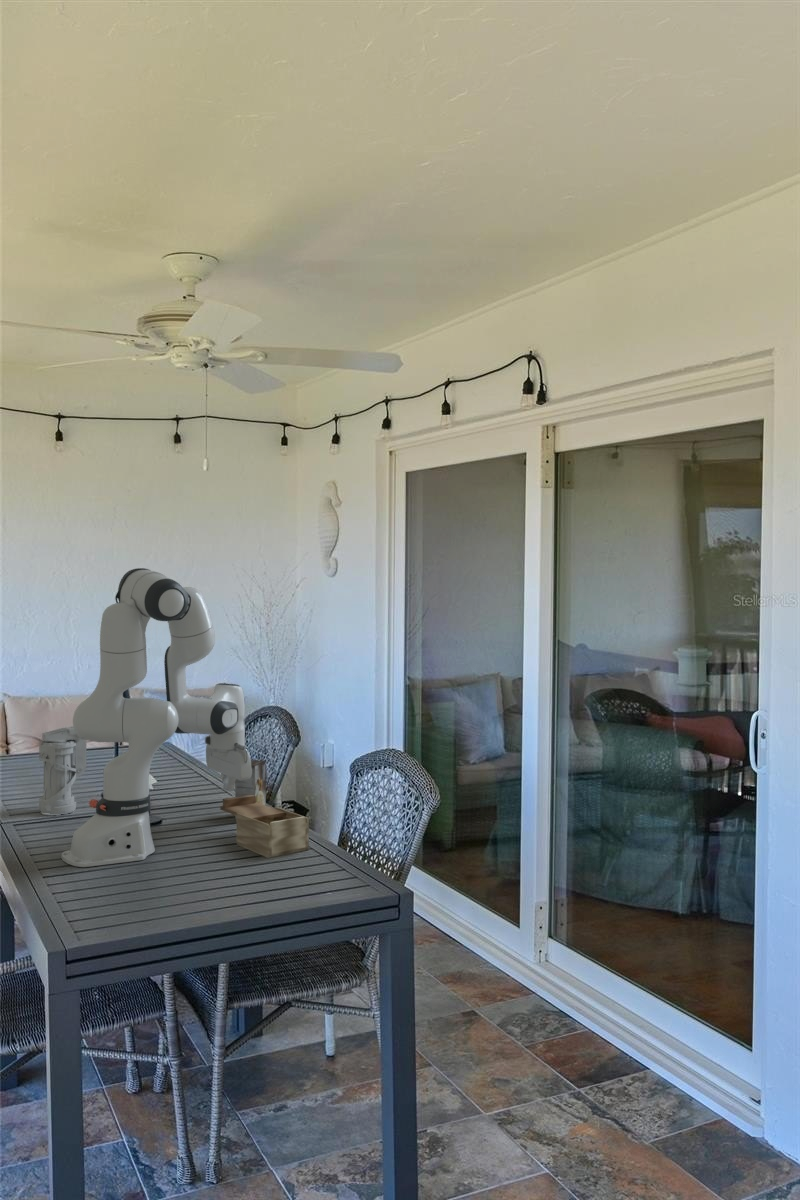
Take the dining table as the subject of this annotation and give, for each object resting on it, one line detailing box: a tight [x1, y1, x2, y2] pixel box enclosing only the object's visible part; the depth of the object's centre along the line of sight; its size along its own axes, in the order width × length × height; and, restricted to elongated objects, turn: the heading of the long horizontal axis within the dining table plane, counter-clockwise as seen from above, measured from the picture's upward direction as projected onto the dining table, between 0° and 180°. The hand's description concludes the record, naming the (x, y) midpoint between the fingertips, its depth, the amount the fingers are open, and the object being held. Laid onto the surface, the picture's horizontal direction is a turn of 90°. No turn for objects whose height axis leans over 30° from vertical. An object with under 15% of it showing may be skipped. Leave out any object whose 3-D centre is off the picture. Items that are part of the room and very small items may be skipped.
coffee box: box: [234, 759, 267, 821], centre depth 286 cm, size 9×6×16 cm
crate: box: [236, 806, 310, 859], centre depth 253 cm, size 12×16×9 cm
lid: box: [219, 795, 286, 820], centre depth 261 cm, size 10×16×3 cm, turn 39°
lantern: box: [38, 725, 87, 814], centre depth 291 cm, size 13×10×25 cm
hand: (228, 790), depth 272 cm, fingers closed
